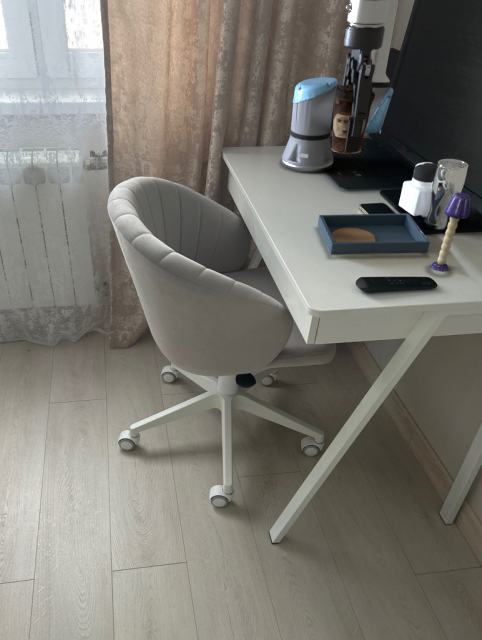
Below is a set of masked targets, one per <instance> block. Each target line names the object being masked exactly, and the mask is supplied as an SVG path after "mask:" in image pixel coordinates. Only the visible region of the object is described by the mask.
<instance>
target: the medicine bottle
mask: <svg viewBox="0 0 482 640" xmlns="http://www.w3.org/2000/svg"><path fill="white" fill-rule="evenodd" d="M437 164H438V163H434V162H430V161H424V162H419V163H417V164H416V165H415V167H414V170H413V175H412V177H411V178H412V179H411V180H405V181H404V182H403V183H402V187H401V193H400V198H399V202H398V206H399V207H400V208H401V209H403V210H405V211H406V213H409V215H412V216H413V217H417V216H421V217H422V218H425V217H426V215H427V213H428V209H429V203H430V191H431V184H432V180H433V176H434V173H435V170H436V167H437Z"/></svg>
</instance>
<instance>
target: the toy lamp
mask: <svg viewBox="0 0 482 640" xmlns="http://www.w3.org/2000/svg"><path fill="white" fill-rule="evenodd" d="M470 211H471V195H470V194H468V193H465V192H461V193H455V194H454V196H453V197H452V199H451V201H450V202H449V204H448V206H447V207H446V209H445V214H446V215H447V216H449V217H450V222H449V223H448V229H447V230H445V233H444V234H445V235H444V236H443V240H442V244H441V246H440V251H439V253H438V254H439V256H438V257H437V260H436V261H433V262H432V263H430V265H429V266H430V268H431V270H434V271H436V272H441V273H442V272H447V271H449V270H450V267H449V265H448V264H447V263H446V262H447V260H448V258H447V257H448V256H449V253H450V249H451V247H452V243H453V241H454V236H455V234H456V229H457V228H458V222H459V221H460V220H461V219H463V220H464V219H467V218H469V216H470Z"/></svg>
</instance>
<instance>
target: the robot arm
mask: <svg viewBox="0 0 482 640" xmlns="http://www.w3.org/2000/svg"><path fill="white" fill-rule="evenodd" d="M399 1H400V0H349V4H346V5H345V10H346V11H347V12H348V13H347V19H346V21H347V23H349V24H348V25H346V27H345V31H344V37H343V46H344V47H345V48H346V49H348V50H351V52H347V53H346V56H345V57H346V61H345V68H344V74H343V80H342V84H339V81H338V78H336V77H330V76H322V77H321V76H319V77H312V78H308V79H304V80H302V81H300V82H298V83H297V84H296V86H295V88H294V91H293V92H294V94H293V98H292V113H291V123H290V133H289V134H290V135H289V139H288V141H287V143H286V146H285V149H284V150H283V153H282V157H281V165H282V166H283V167H284V168H286V169H289V170H290V171H294V172H298V173H311V174H313V173H321V172H325V171H328V170H330V169H331V168H332V167H333V164H334V154H333V150H332V142H331V135H332V131H333V116H334V104H335V98H334V95H335V93H336V92H337V91H338V89H339V86H340V85H353V90H354V91H353V93H354V101H353V103H352V116H351V117H348V120H349V126H348V132H347V139H346V145H345V152H358V148H359V142H360V136H361V130H362V125H363V120H364V119H367V117H368V108H369V101H370V93H371V86H373V89H372V91H373V92H374V93H375V99H374V101H373V102H372V105H371V109H370V113H369V118H368V123H367V126H366V129H365V131H364V134H377V133H379V132H380V131H381V130H382V128H383V126H384V122H385V119H386V117H387V112H388V110H389V106H390V103H391V101H392V97H393V94H394V88H392V87H389V86H390V82H391V80H390V78H389V76H387V73H386V72H387V66H388V61H389V55H390V50H391V45H392V39H393V34H394V29H395V23H396V18H397V12H398V7H399ZM360 112H361V113H360Z"/></svg>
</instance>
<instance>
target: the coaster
mask: <svg viewBox="0 0 482 640" xmlns="http://www.w3.org/2000/svg"><path fill="white" fill-rule="evenodd" d="M332 237H333V239H334V241H335V242H375V236H374V235H373V234H371V233H370V232H368V231H366V230H362V229H358V228H341V229H338V230H335V231H334V232H333V233H332Z"/></svg>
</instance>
